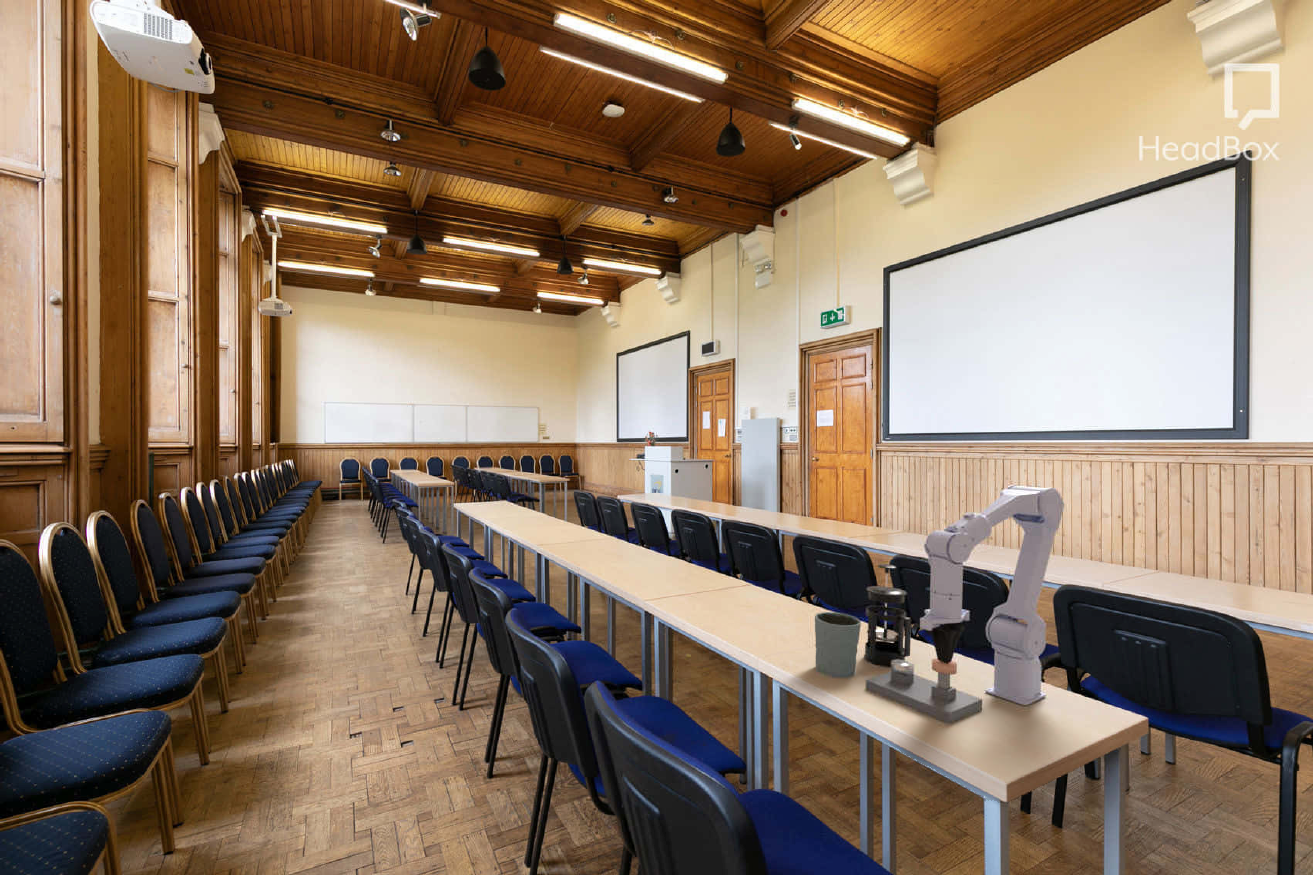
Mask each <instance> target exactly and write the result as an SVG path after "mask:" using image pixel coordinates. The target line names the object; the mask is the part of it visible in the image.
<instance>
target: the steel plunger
mask: <svg viewBox="0 0 1313 875" xmlns="http://www.w3.org/2000/svg"><path fill="white" fill-rule="evenodd" d="M890 670H891V671H893V672H895V673H897V674H901V675H912V674H914V675H915V664H914V663H913V662H911V661H908V660H906V659H905V660H892V661H891V668H890Z"/></svg>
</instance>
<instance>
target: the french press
mask: <svg viewBox="0 0 1313 875" xmlns="http://www.w3.org/2000/svg"><path fill="white" fill-rule="evenodd" d="M877 567H878V568H882V569H884V573H885V586H884V585H883V586H880V585H879V586H878V585H876V586H875V585H873V586H868V587H866V591H867V592H868V599H869V600H871V601H874V602H878V603H883V604H884V605H870V606H866V609H865V614H866V616H867V618H868V619H867V621H868V622H867V630H866V633H867V642H865V643H864V644H865V646H864V654H863V659H864V660H865V661H866V662H867V663H869V662H870V664H871V663H872V665H875V666H878V665H879V666H878V667H882V666H884V667H883V668H889V667H891V661H892V660H905V661H906V658H907V657H910V656H911V640H912V639H911V636H912V635H911V634H912V630H911V629H912V619H911V617H907V612H906V611H905V610H903V609H900V608H897V607H892V606H887V605H888V604H893V605H894V604H895V605H897V604H899V605H900V604H903V603H905V596H907V591H906V590H903V589H901V588H896V587H891V586H888V576H889V575H888V574H890V569H894V570H895V569H897V566H895V565H892V564H885V563H883V564H882V563H881V564H878V565H877ZM876 612H884V614H880V613H876ZM887 613H891V614H893V615H888V614H887ZM877 620H879V621H883V622H884V628H877V627H878V626H877ZM887 622H892V623H893V630H891V629H887Z"/></svg>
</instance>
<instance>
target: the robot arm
mask: <svg viewBox="0 0 1313 875" xmlns="http://www.w3.org/2000/svg"><path fill="white" fill-rule="evenodd" d="M1065 505H1066V504H1065V503H1064V500H1063V498H1062V496H1061V493H1060V492H1059V491H1058V489H1056V488H1054V487H1034V486H1023V485H1021V486H1020V485H1016V484H1010V485H1009V486H1007V487H1006V488H1004V489H1001V491H1000V495H999V497H998V498H997V499H996V500H994V501H993V502H992V503H990V504H989V505H988V506H987V507H986V508H984V509H983V510H982V511H981V512H979V513H977V512H965V513H964V514H963V515H962V516H963V517H962V518H960V519H959V520H957V521H955V522H954V523H952V524H951V523H950V524H948V525H947V527H946V528H945V529H943V530H941V529H940V530H939V529H936V530H934V531H933V532H931V533H929V535H928V536H927V538H926V540H925V543H923V547H924V551H925V553H926V555H927V558H928V561H927V562H928V565H929V566H930V585H929V586H930V588H929V589H930V590H929V592H930V593H929V608H928V609H925V610H924V616H922V617H920V618H919V628H920V629H922V630H925V631H928V633H929V634H930V636H931V637H930V638H931V639H932V641H933V645H934V649H935V654H936V658H938V660H939V661H942V662H945V663H950V662H951V661H953V657H954V654H955V650H956V647H957V645H958V642H959V640H960V638H961V637H962V635H963V633H964V632H965V626H963V625H961V624H959V623H962V622H963V621H965V622H967V621H968V622H969V621H970V610H967V609H963V585H964V584H963V576H964V562H967V560H969V558H970V556H971V553H972V552H973V550H974V548H975V547H977V546H978V545H979V544H981V543H982V542H984V541H985V540H987V539H988V538H989V537H990V536H991V535H992V531H993V530H992V529H993V528H994V527H995V526H997V525H999V524H1001V523H1002V522H1004V521H1006V520H1008V519H1009V518H1011V519H1012V520H1014V522H1015V523H1016V524H1017V525H1018V526H1020V527H1021V528H1022V529H1023V531H1024V536H1023V539H1022V543H1021V548H1020V550H1019V555H1018V557H1017V558H1018V559H1017V561H1016V566H1015V568H1014V569H1015V570H1014V573H1013V578H1012V581H1011V586H1010V590H1009V593H1008V596H1007V600H1006V602H1004V603H1002V604H1000V605H998V606H996V607H994V608H993V612H992V614H991V617H990V618H989V620H988V621H987V622H986V625H985V636H986V640H988V642H989V643H991V648H992V649H994V670H993V686H991V687H988V688H986V689H985V692H986V693H987V694H990V695H993V696H996V697H999V698H1001V699H1005V700H1008V701H1009V702H1010V701H1011V702H1013V703H1016V704H1019V705H1021V706H1027V705H1031V704H1032V703H1034V702H1036V701H1038V700H1040V699H1042V698H1045V697H1047V696H1046V695H1047V694H1046V693H1044V692H1042V663H1041V660H1040V658H1039V657H1040V656H1041V654H1042V653H1044V650H1045V649H1046V644H1047V639H1046V638H1047V637H1046V629H1047V626H1048V625H1047V624H1046V621H1044V619H1043V618H1042V617H1041V616H1040V614H1038V612H1037V608H1038V603H1039V600H1040V597H1041V591H1042V587H1043V584H1044V579H1045V577H1046V572H1047V568H1048V564H1049V561H1050V560H1049V559H1050V556H1051V553H1052V548H1053V545H1054V540H1055V536H1056V531H1058V530H1059V527H1060V525H1061V520H1062V517H1063V512H1064V510H1065ZM1018 620H1019V621H1018ZM1020 621H1022V622H1020Z"/></svg>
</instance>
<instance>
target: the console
mask: <svg viewBox="0 0 1313 875" xmlns="http://www.w3.org/2000/svg"><path fill="white" fill-rule="evenodd" d="M865 690H866V691H869V692H871V693H873V694H876V695H879V696H881V697H883V698H886V699H888V700H890V701H892V702H895V703H897V704H900V705H902V706H904V707H908V708H910V709H912V710H914V711H917V712H920V713H922V714H924V715H926V716H929V717H931V718H934V719H936V720H938V721H941V722H943V723H946V724H948V725H949V724H952V723H954V722H957V721H959V720H961V719H964V718H966V717H968V716H970V715H972V714H975V713H977V712H980V711H982V710H983V699H982V698H980V697H977V696H975V695H972V694H968V693H967V692H963V691H961V690H958V689H957V687H953V686H951V685H950V689H948V690H944V689H941V688H939V687H938V682H936V681H933V680H930V679H928V678H925V677H922V676H919V675H917V674H915V673H914V674H912V675H901V674H897V673H895V672H893V671H892V670H891V671H890V672H886V673H883V674H880V675H877V676H873V677H870V678H868V679H865Z"/></svg>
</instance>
